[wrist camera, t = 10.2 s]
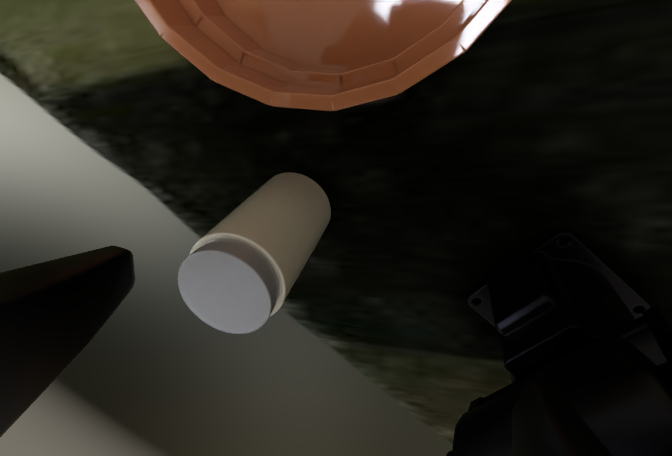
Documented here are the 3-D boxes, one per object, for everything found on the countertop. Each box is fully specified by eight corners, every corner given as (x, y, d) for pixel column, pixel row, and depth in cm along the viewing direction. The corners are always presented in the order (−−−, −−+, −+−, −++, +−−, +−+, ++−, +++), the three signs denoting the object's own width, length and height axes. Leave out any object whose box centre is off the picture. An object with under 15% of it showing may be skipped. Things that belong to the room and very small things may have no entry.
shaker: (346, 207, 21) (297, 298, 14) (303, 253, 23) (241, 354, 16) (285, 155, 21) (201, 223, 13) (247, 208, 23) (156, 291, 16)
